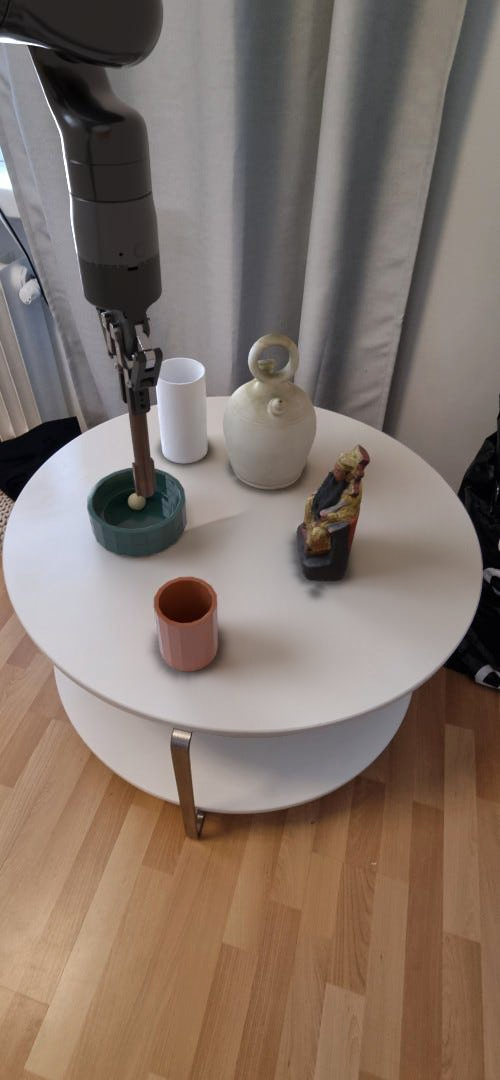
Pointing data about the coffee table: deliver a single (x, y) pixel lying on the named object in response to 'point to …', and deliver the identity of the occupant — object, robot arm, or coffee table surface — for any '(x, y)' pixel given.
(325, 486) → the statue
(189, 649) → the crock
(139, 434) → the stick
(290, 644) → the coffee table surface
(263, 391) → the jug
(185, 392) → the cup
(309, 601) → the coffee table surface
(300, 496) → the coffee table surface
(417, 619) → the coffee table surface
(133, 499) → the dough ball
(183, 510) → the bowl
